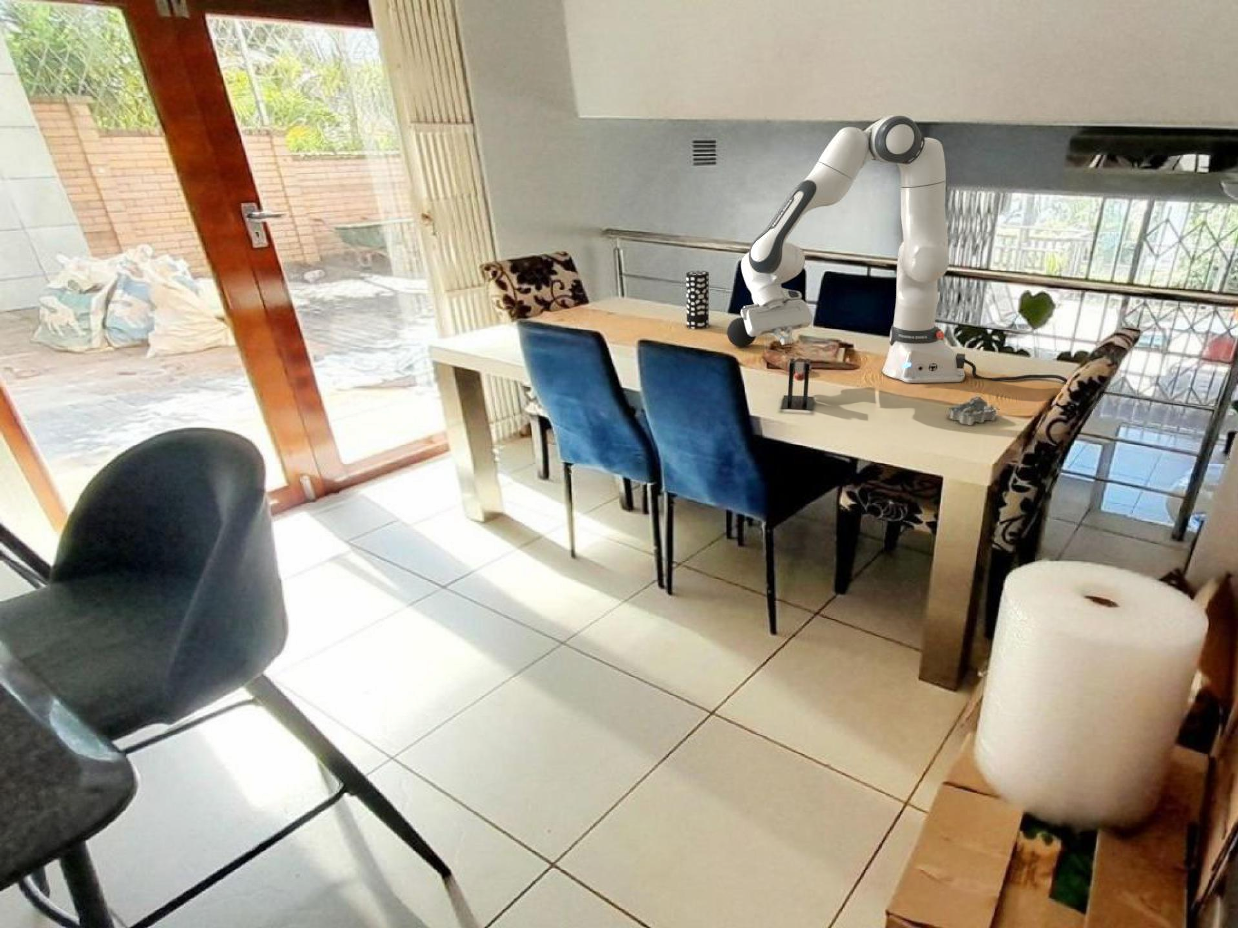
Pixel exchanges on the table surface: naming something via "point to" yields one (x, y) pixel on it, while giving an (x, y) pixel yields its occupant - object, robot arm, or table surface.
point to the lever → (799, 371)
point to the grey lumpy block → (973, 411)
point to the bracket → (798, 401)
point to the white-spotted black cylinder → (697, 299)
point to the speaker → (739, 333)
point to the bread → (780, 359)
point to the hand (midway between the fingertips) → (787, 343)
